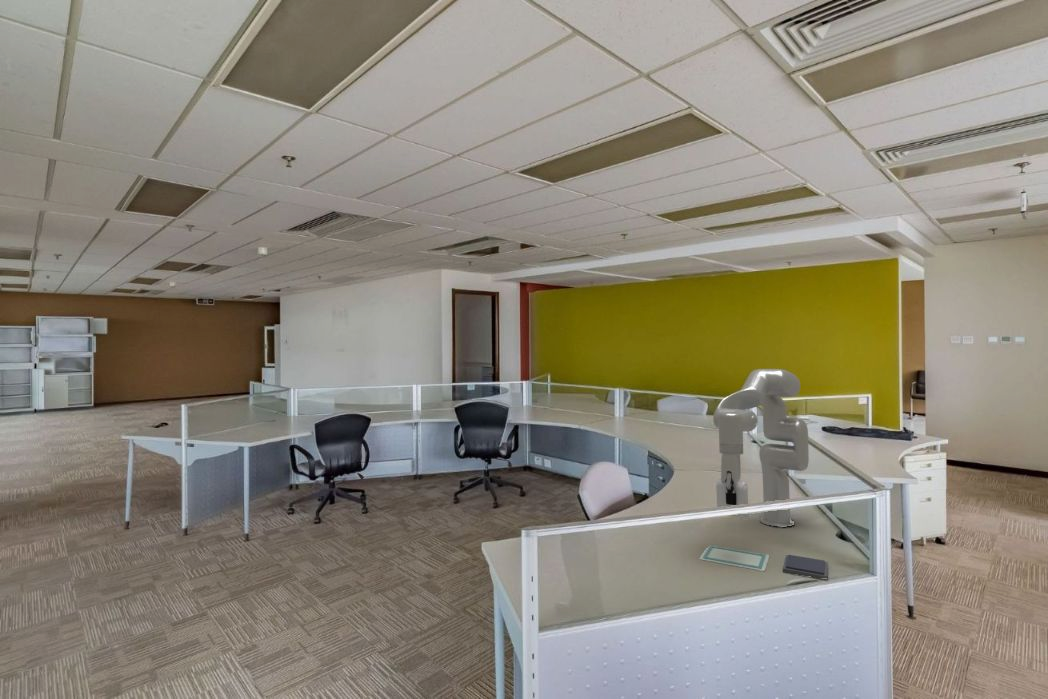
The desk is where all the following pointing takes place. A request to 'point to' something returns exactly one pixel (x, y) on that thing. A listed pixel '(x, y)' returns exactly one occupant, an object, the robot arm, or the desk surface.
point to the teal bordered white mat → (735, 557)
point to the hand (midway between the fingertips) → (732, 501)
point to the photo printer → (740, 492)
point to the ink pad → (805, 566)
